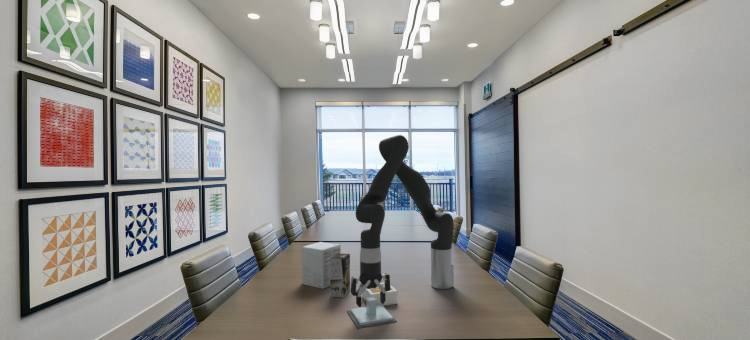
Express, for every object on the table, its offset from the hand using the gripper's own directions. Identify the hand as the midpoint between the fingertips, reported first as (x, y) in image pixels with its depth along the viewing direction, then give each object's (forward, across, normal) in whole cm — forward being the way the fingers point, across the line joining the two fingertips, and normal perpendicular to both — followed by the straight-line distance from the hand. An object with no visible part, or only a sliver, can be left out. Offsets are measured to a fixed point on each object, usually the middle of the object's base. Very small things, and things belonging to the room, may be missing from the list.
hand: (370, 304), depth 118 cm
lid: (+4, 0, 0) cm, 4 cm away
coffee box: (+4, +5, -26) cm, 27 cm away
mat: (+4, 0, 0) cm, 4 cm away
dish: (+4, -8, -13) cm, 16 cm away
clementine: (+1, -8, -13) cm, 15 cm away
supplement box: (+4, +10, -43) cm, 44 cm away
